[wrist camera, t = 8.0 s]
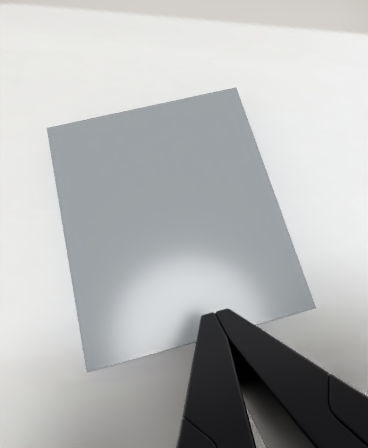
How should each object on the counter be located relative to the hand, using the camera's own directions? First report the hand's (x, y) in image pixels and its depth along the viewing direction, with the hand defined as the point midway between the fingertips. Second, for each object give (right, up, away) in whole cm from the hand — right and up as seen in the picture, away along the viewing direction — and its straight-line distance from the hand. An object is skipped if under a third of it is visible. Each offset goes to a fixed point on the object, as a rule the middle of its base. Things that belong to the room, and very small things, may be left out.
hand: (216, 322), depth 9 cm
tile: (0, -3, +7) cm, 8 cm away
